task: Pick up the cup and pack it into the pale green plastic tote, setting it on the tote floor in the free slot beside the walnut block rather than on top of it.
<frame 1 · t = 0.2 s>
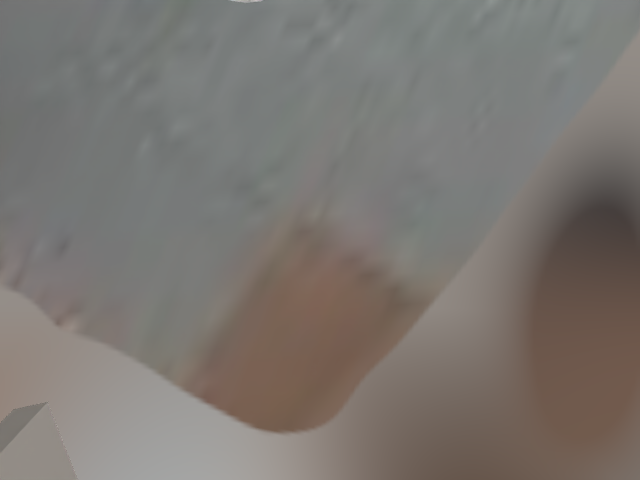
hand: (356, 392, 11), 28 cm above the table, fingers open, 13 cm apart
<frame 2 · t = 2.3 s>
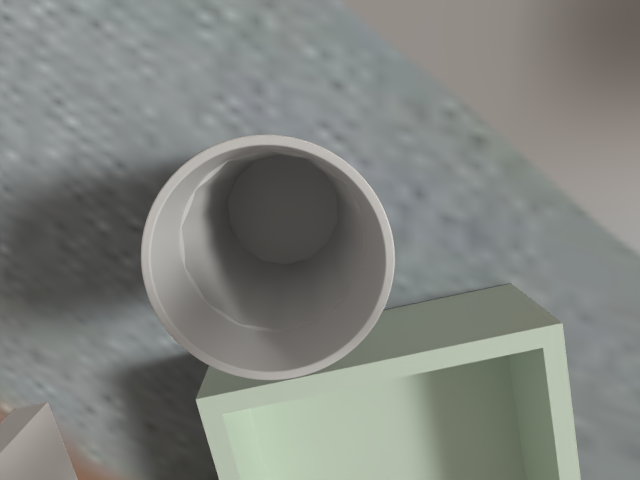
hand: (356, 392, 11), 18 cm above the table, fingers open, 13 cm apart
cup: (284, 205, 28), on the table
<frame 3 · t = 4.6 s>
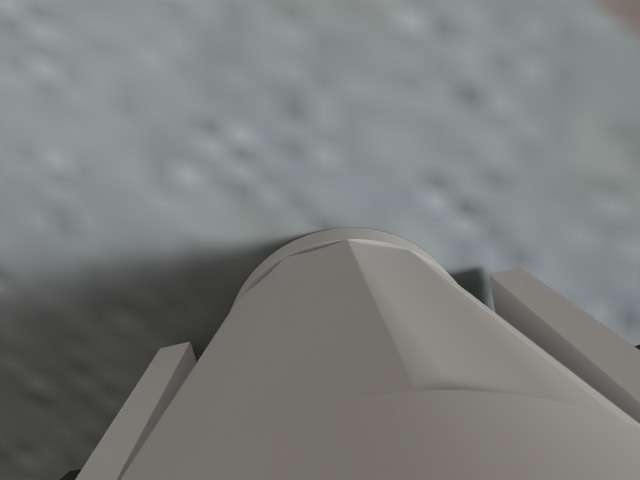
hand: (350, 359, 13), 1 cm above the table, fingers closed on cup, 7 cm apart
cup: (347, 344, 14), on the table, touching gripper
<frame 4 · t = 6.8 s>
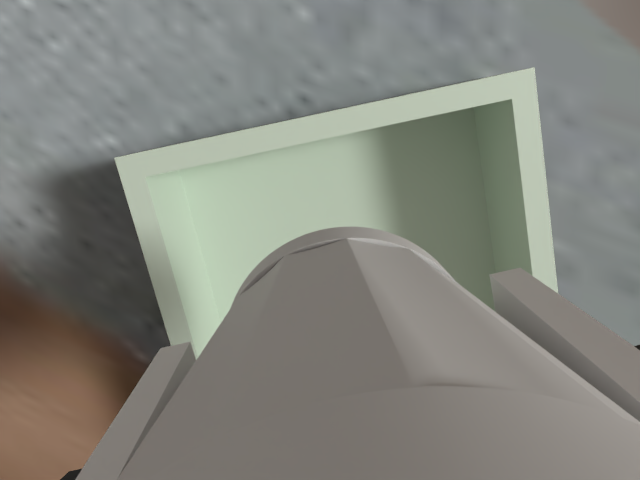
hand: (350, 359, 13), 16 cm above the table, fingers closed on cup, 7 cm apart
tote: (363, 328, 29), on the table
cup: (347, 343, 14), point 15 cm above the table, touching gripper
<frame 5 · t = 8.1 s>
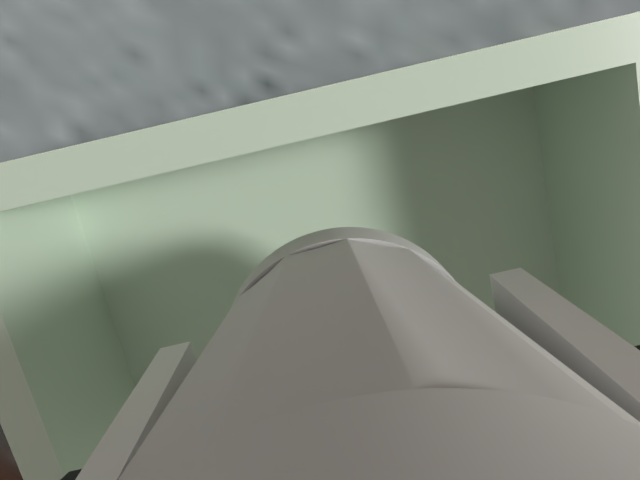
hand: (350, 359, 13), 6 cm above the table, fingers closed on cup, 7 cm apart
tote: (366, 426, 20), on the table
cup: (347, 344, 14), point 5 cm above the table, touching gripper
when the fingers open (3 cm above the table, at t = 8.8 s): cup drops 2 cm, resting on tote.
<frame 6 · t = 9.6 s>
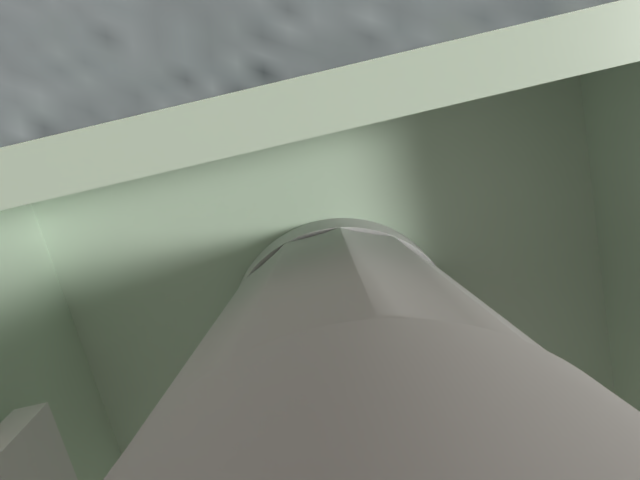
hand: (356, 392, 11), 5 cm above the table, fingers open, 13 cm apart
tote: (378, 467, 17), on the table
cup: (341, 322, 15), point 1 cm above the table, touching tote
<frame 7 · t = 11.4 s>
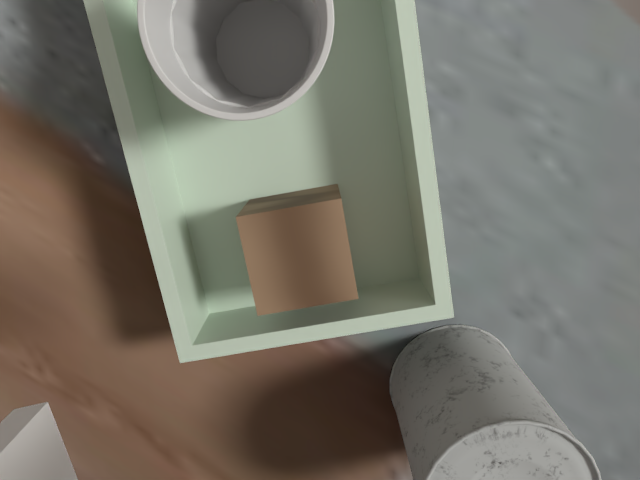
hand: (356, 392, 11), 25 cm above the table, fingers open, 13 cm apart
walnut block: (301, 234, 35), point 1 cm above the table, touching tote
tote: (284, 138, 35), on the table
cup: (265, 52, 33), point 1 cm above the table, touching tote
white can: (451, 381, 39), on the table
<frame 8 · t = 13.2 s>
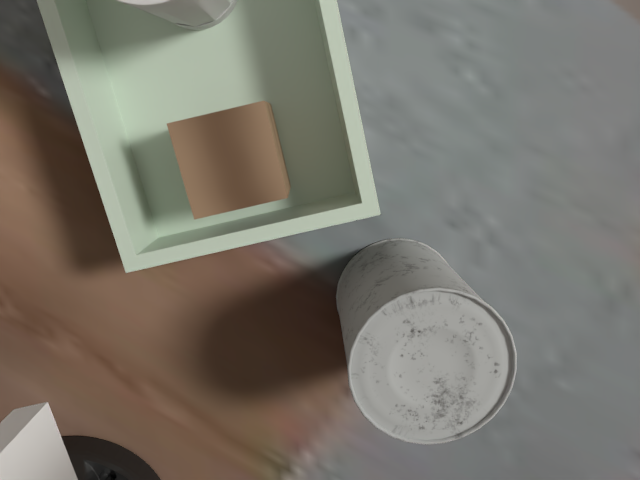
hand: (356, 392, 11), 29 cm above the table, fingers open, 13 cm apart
walnut block: (240, 155, 38), point 1 cm above the table, touching tote
tote: (218, 64, 37), on the table
white can: (395, 296, 41), on the table
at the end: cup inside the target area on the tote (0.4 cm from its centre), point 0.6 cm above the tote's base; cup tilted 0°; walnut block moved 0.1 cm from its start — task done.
